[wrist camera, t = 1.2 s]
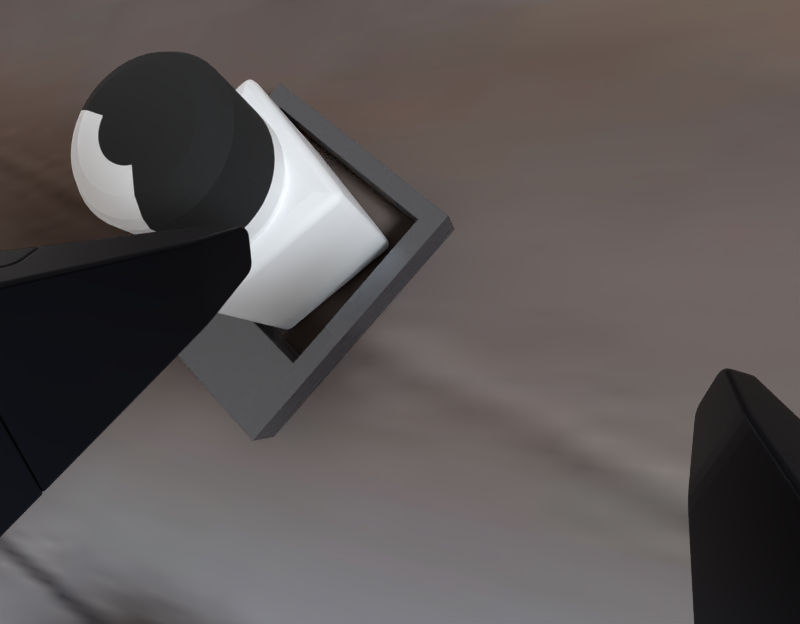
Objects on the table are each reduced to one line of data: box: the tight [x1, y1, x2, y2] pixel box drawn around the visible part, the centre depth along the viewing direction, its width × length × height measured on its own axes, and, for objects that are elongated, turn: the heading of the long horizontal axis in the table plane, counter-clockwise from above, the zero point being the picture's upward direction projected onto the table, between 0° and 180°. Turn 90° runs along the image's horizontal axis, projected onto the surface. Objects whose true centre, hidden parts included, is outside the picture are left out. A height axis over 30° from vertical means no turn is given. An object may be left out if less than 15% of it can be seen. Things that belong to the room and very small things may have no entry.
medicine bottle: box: [71, 52, 389, 330], centre depth 20 cm, size 7×7×12 cm
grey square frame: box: [178, 83, 454, 441], centre depth 25 cm, size 14×12×2 cm
